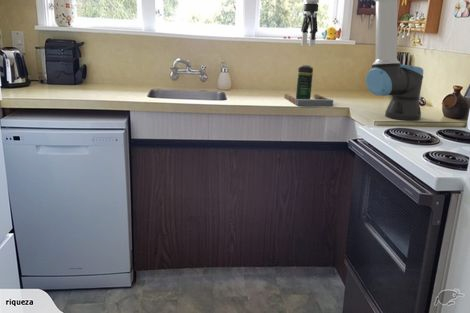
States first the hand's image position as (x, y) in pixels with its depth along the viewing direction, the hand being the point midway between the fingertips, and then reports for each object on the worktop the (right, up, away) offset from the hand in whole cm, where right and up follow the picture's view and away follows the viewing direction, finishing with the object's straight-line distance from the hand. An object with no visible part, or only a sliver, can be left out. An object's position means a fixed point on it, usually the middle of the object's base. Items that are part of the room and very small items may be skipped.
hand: (307, 45), depth 226 cm
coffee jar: (-1, -28, +8) cm, 29 cm away
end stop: (+2, -33, -10) cm, 34 cm away
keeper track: (0, -29, +2) cm, 29 cm away
